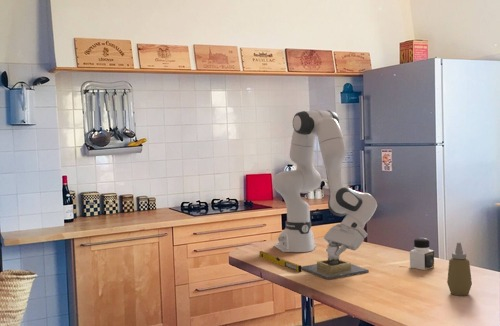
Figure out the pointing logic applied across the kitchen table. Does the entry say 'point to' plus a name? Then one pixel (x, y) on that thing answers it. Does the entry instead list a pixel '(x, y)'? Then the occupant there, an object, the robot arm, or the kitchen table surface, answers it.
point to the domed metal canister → (333, 254)
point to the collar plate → (334, 269)
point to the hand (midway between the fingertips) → (332, 253)
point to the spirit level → (280, 261)
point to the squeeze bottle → (459, 273)
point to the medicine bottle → (421, 255)
